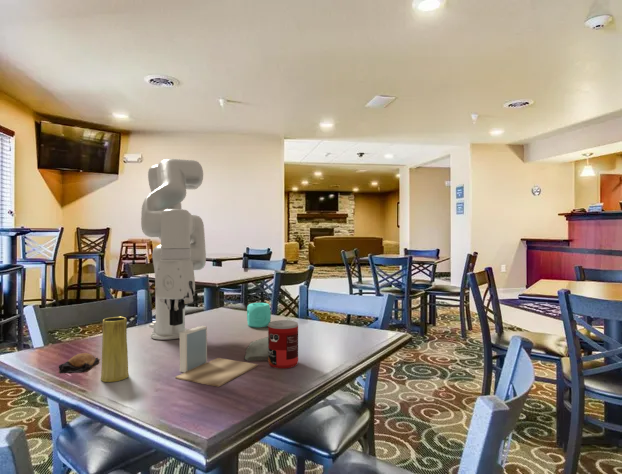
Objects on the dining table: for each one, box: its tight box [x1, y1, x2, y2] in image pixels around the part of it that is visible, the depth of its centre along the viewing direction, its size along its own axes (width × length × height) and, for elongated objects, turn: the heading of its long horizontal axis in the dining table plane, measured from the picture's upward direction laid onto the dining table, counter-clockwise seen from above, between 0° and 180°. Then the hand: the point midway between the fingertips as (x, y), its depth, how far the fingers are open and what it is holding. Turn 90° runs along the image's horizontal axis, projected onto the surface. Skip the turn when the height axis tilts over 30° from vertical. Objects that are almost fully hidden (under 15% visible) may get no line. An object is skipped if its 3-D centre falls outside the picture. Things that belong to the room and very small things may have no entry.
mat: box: [175, 357, 258, 387], centre depth 100 cm, size 13×16×1 cm
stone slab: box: [244, 336, 268, 362], centre depth 120 cm, size 22×3×10 cm
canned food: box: [267, 319, 299, 369], centre depth 105 cm, size 8×8×11 cm
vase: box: [100, 316, 130, 383], centre depth 96 cm, size 6×6×14 cm
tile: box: [179, 325, 208, 373], centre depth 103 cm, size 2×8×10 cm, turn 155°
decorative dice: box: [246, 302, 272, 329], centre depth 151 cm, size 8×8×8 cm
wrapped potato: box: [57, 352, 101, 374], centre depth 104 cm, size 11×8×4 cm
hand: (176, 324), depth 105 cm, fingers closed
